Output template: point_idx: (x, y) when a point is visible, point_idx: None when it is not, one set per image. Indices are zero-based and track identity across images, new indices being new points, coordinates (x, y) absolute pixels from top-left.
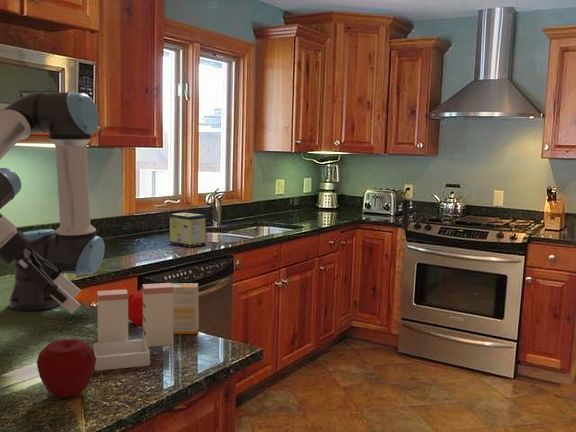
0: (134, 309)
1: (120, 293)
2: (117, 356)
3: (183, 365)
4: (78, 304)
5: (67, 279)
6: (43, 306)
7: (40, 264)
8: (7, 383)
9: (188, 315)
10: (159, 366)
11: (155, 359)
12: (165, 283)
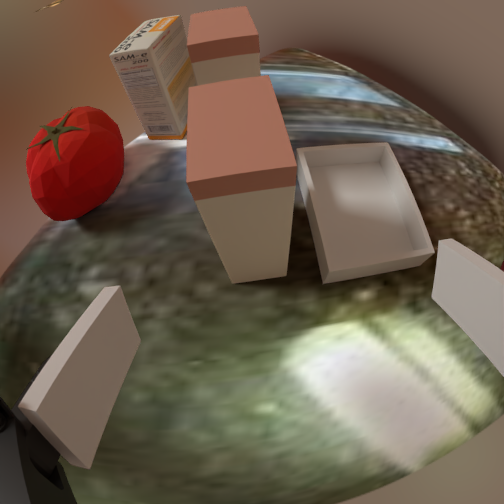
0: (95, 176)
1: (260, 92)
2: (414, 203)
3: (372, 117)
4: (458, 245)
5: (67, 358)
6: None
7: None
8: (464, 438)
9: (189, 76)
10: None
11: None
12: (195, 17)
